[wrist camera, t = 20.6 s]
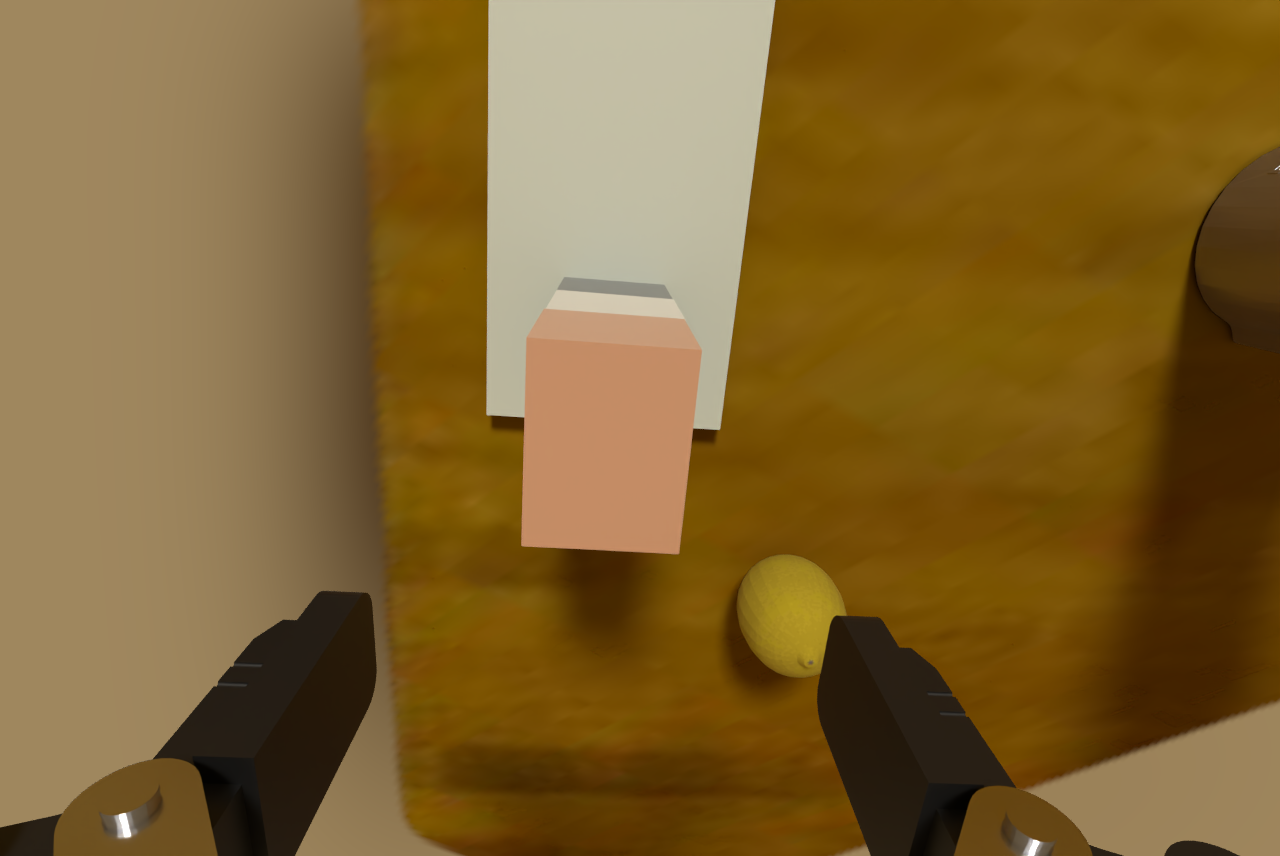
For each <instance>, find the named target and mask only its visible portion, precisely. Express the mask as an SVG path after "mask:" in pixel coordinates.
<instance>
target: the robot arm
mask: <svg viewBox="0 0 1280 856" xmlns="http://www.w3.org/2000/svg"><path fill="white" fill-rule="evenodd" d="M1195 271H1196V278H1197V285H1198V287H1199V290H1200V292H1201V295H1202V297H1203V300H1204V301H1205V302H1206V303H1207V305H1208V306H1209V307H1210V309H1211V310H1212V311H1213V312H1214V313H1215V314H1216V315H1218V316H1219V317H1220V318H1222V319H1223V320H1224V321H1226V322H1227V323H1228V324H1229V325H1230V327H1231V330H1232V336H1233V341H1234V342H1235V343H1238V344H1242V345H1246V346H1250V347H1254V348H1259V349H1263V350H1267V351H1271V352H1275V353H1280V147H1278V148H1276V149H1275V150H1273V151H1271V152H1269V153H1267V154H1265V155H1263V156H1261V157H1260V158H1258V159H1257V160H1256V161H1254V162H1253V163H1252V164H1250V165H1249V166H1247V167H1246V168H1245V169H1243V170H1242V171H1241V172H1240V173H1239V174H1238V175H1237V176H1236V177H1235V178H1234V179H1233V180H1232V181H1231V182H1230V183H1229V185H1228V186H1227V187H1226V188H1225V189H1224V190H1223V192H1222V193H1221V195H1220V196H1219V198H1218V199H1217V200H1216V202H1215V203H1214V205H1213V206H1212V208H1211V210H1210V212H1209V214H1208V216H1207V218H1206V220H1205V222H1204V224H1203V226H1202V230H1201V233H1200V237H1199V240H1198V244H1197V248H1196V259H1195ZM375 682H376V653H375V638H374V624H373V611H372V601H371V598H370V595H369V594H368V593H359V592H337V591H321V592H319V593H318V594H317V595H316V596H315V598H314V599H313V600H312V602H311V603H310V604H309V605H308V607H307V608H306V609H305V611H304V612H303V613H302V614H301V616H300V617H299V618H298V619H297V620H282V621H280V622H279V623H277V624H276V625H274V626H273V627H271V628H270V629H268V630H267V631H265V632H264V633H262V634H260V635H259V636H257V637H256V638H254V639H253V640H252V641H251V643H250V644H249V645H248V646H247V647H246V649H245V650H244V651H243V652H242V653H241V655H240V656H239V657H238V658H237V659H236V661H235V662H234V666H233V667H230V668H229V669H228V670H227V671H226V673H225V674H224V675H223V676H222V677H221V679H220V680H219V681H218V685H217V687H213V688H212V689H211V690H210V692H209V693H208V694H207V695H206V696H205V698H204V699H203V700H202V701H201V702H200V704H199V705H198V706H197V707H196V708H195V710H194V711H193V712H192V713H191V714H190V715H189V717H188V718H187V719H186V720H185V722H184V723H183V724H182V725H181V726H180V727H179V729H178V730H177V731H176V732H175V733H174V735H173V736H172V737H171V738H170V740H168V742H167V743H166V744H165V745H164V746H163V748H162V749H161V750H160V751H159V752H158V754H157V755H156V756H155V757H154V758H153V759H152V760H147V761H143V762H139V763H136V764H132V765H129V766H127V767H124V768H122V769H119V770H117V771H115V772H113V773H111V774H109V775H107V776H105V777H103V778H102V779H100V780H99V781H97V782H95V783H94V784H92V785H91V786H90V787H88V788H87V789H86V790H84V791H83V792H82V793H81V794H80V795H79V796H77V797H76V798H75V799H74V800H73V801H72V802H71V803H70V805H69V806H68V807H67V808H66V809H65V811H64V812H63V814H59V815H55V816H51V817H47V818H42V819H37V820H33V821H28V822H24V823H19V824H14V825H10V826H6V827H1V828H0V856H295V854H296V852H297V850H298V848H299V846H300V844H301V842H302V840H303V838H304V836H305V834H306V832H307V830H308V828H309V826H310V824H311V822H312V820H313V818H314V816H315V814H316V812H317V810H318V808H319V806H320V804H321V802H322V800H323V798H324V796H325V794H326V792H327V790H328V788H329V786H330V784H331V782H332V780H333V778H334V776H335V774H336V772H337V770H338V768H339V766H340V764H341V762H342V760H343V758H344V756H345V754H346V752H347V750H348V748H349V746H350V744H351V742H352V740H353V738H354V736H355V734H356V732H357V730H358V728H359V726H360V724H361V722H362V720H363V718H364V716H365V714H366V712H367V710H368V708H369V705H370V703H371V700H372V697H373V693H374V688H375ZM817 704H818V713H819V719H820V723H821V726H822V729H823V731H824V734H825V737H826V739H827V742H828V745H829V747H830V750H831V752H832V755H833V758H834V760H835V763H836V766H837V768H838V771H839V773H840V776H841V779H842V781H843V784H844V787H845V789H846V792H847V794H848V797H849V800H850V802H851V805H852V808H853V810H854V813H855V815H856V818H857V821H858V823H859V826H860V829H861V831H862V834H863V836H864V839H865V842H866V844H867V847H868V850H869V852H870V855H871V856H1122V855H1119V854H1116V853H1112V852H1109V851H1106V850H1103V849H1099V848H1097V847H1094V846H1091V845H1089V844H1088V842H1087V840H1086V839H1085V837H1084V836H1083V834H1082V833H1081V831H1080V830H1079V829H1078V828H1077V827H1076V825H1075V824H1074V823H1073V822H1072V821H1071V820H1070V819H1069V818H1068V817H1067V816H1065V815H1064V814H1063V813H1062V812H1060V811H1059V810H1058V809H1057V808H1055V807H1054V806H1052V805H1051V804H1049V803H1048V802H1046V801H1045V800H1043V799H1041V798H1039V797H1037V796H1035V795H1033V794H1031V793H1028V792H1026V791H1023V790H1020V789H1017V788H1016V787H1015V785H1014V784H1013V782H1012V781H1011V779H1010V778H1009V776H1008V775H1007V773H1006V772H1005V770H1004V769H1003V767H1002V766H1001V764H1000V763H999V761H998V760H997V758H996V757H995V755H994V754H993V753H992V751H991V750H990V748H989V747H988V745H987V744H986V742H985V741H984V739H983V738H982V736H981V735H980V733H979V732H978V730H977V729H976V727H975V726H974V724H973V723H972V721H971V720H970V718H969V717H966V716H965V711H964V709H963V708H962V706H961V705H960V703H959V702H958V700H957V699H956V697H952V692H951V690H950V689H949V687H948V686H947V684H946V683H945V681H944V680H943V678H942V677H941V675H940V674H939V672H938V671H937V669H936V668H935V667H933V666H932V665H931V664H930V663H928V662H927V661H926V660H925V659H924V658H922V657H921V656H920V655H919V654H917V653H916V652H915V651H914V650H913V649H911V648H899V646H898V645H897V643H896V642H895V640H894V638H893V637H892V635H891V634H890V632H889V630H888V629H887V627H886V626H885V624H884V622H883V621H882V620H881V619H880V618H878V617H861V616H839V615H836V616H834V617H833V619H832V621H831V624H830V627H829V633H828V638H827V643H826V648H825V653H824V658H823V664H822V669H821V674H820V679H819V684H818V693H817ZM1165 856H1239V855H1236V854H1234V853H1232V852H1230V851H1228V850H1226V849H1223V848H1220V847H1218V846H1215V845H1211V844H1208V843H1204V842H1198V841H1180V842H1176V843H1174V844H1172V845H1171V846H1170V847H1169V848H1168V849H1167V851H1166V853H1165Z"/></svg>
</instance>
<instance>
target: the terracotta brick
mask: <svg viewBox="0 0 1280 856" xmlns="http://www.w3.org/2000/svg"><path fill="white" fill-rule="evenodd" d="M701 355H702V349H701V347H700V346H699V344H698V342H697V340H696V339H695V337H694V335H693V333H692V332H691V330H690V328H689V326H688V325H687V323H686V321H685V319H677V318H664V317H650V316H637V315H623V314H610V313H596V312H583V311H569V310H556V309H543V311H542V313H541V314H540V316H539V318H538V319H537V321H536V323H535V324H534V326H533V327H532V329H531V331H530V332H529V334H528V336H527V337H526V376H525V418H524V460H523V502H522V543H521V546H530V547H549V548H569V549H588V550H608V551H627V552H647V553H666V554H679V549H680V540H681V531H682V522H683V513H684V505H685V496H686V487H687V478H688V469H689V461H690V452H691V443H692V434H693V425H694V416H695V408H696V399H697V390H698V381H699V372H700V364H701Z"/></svg>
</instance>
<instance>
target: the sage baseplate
mask: <svg viewBox="0 0 1280 856" xmlns="http://www.w3.org/2000/svg"><path fill="white" fill-rule="evenodd" d="M774 6H775V0H489V55H488V251H487V415H495V416H511V417H525V376H526V337H527V336H528V334H529V332H530V331H531V329H532V327H533V326H534V324H535V323H536V321H537V319H538V318H539V316H540V314H541V313H542V311H543V309H546V307H547V306H548V304H549V302H550V300H551V299H552V297H553V295H554V294H555V292H556V290H557V288H558V287H559V285H560V283H561V282H562V280H563V278H564V277H571V278H584V279H597V280H609V281H622V282H635V283H648V284H661V285H665V287H666V288H667V290H668V292H669V294H670V295H671V297H672V299H674V301H675V302H676V304H677V306H678V308H679V309H680V311H681V313H682V314H683V316H684V318H685V320H686V323H687V325H688V326H689V328H690V330H691V332H692V333H693V335H694V337H695V339H696V340H697V342H698V344H699V346H700V347H701V349H702V355H701V364H700V372H699V381H698V390H697V399H696V408H695V416H694V425H693V428H697V429H712V430H720V425H721V417H722V410H723V402H724V394H725V386H726V379H727V371H728V363H729V355H730V347H731V340H732V332H733V324H734V316H735V309H736V301H737V293H738V285H739V277H740V270H741V262H742V254H743V246H744V239H745V231H746V223H747V215H748V208H749V200H750V192H751V184H752V176H753V169H754V161H755V153H756V145H757V138H758V130H759V122H760V114H761V107H762V99H763V91H764V83H765V75H766V68H767V60H768V52H769V44H770V37H771V29H772V21H773V13H774Z"/></svg>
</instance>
